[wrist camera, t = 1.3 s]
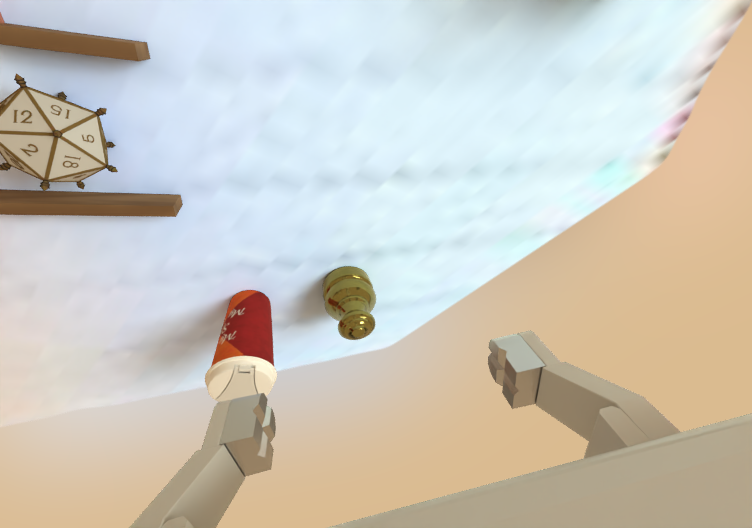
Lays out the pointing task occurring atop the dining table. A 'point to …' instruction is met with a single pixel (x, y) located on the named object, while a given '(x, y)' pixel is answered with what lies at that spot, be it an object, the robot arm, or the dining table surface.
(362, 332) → the gold metal turned piece
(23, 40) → the trap channel
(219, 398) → the paper cup
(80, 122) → the game die
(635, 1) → the dining table surface
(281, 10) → the dining table surface
